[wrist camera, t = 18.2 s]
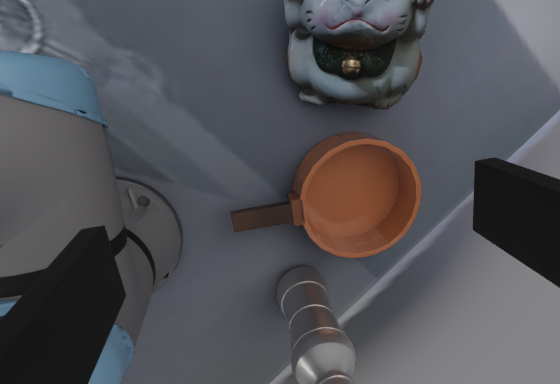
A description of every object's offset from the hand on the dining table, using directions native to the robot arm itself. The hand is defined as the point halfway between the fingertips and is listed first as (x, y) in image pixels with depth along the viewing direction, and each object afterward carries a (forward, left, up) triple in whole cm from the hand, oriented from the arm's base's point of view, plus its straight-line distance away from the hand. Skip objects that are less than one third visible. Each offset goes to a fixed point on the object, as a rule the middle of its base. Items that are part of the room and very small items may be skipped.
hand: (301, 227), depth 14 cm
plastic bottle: (+3, -23, -33) cm, 40 cm away
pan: (+11, -11, -33) cm, 36 cm away
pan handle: (0, -11, -30) cm, 32 cm away
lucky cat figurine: (+11, +7, -33) cm, 35 cm away
